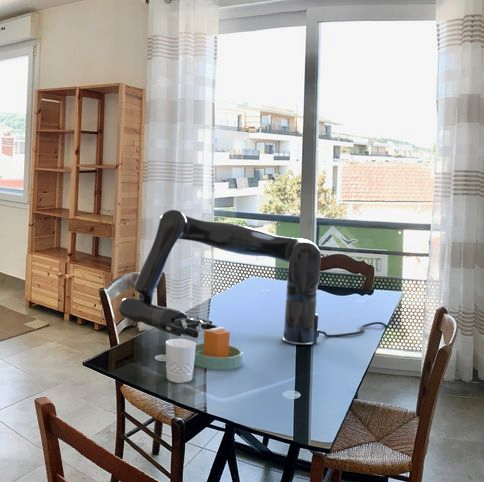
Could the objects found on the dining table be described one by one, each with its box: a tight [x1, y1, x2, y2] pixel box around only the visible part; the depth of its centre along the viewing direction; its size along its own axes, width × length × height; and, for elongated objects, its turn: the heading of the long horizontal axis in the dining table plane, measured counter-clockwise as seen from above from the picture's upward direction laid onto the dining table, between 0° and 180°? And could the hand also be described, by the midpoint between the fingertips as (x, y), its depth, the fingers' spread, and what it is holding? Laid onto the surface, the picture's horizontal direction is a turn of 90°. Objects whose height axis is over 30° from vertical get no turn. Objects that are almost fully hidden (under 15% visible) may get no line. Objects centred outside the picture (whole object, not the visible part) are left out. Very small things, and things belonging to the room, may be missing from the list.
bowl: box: [194, 342, 243, 371], centre depth 178 cm, size 14×14×4 cm
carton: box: [203, 326, 230, 357], centre depth 178 cm, size 5×5×10 cm
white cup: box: [165, 338, 197, 384], centre depth 165 cm, size 8×8×10 cm
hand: (207, 332), depth 180 cm, fingers open, 8 cm apart
